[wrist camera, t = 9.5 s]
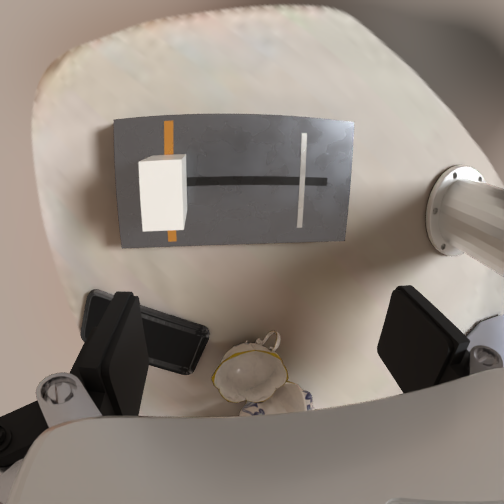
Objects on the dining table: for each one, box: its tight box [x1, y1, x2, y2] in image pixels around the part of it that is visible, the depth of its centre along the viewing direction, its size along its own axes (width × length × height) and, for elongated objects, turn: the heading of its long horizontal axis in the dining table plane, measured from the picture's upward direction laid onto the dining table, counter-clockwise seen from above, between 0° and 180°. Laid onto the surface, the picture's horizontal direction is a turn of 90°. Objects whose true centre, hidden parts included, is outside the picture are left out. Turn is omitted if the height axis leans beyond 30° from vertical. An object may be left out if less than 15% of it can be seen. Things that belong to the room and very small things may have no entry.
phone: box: [81, 289, 209, 375], centre depth 35 cm, size 8×1×15 cm
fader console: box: [114, 114, 354, 248], centre depth 29 cm, size 22×12×3 cm, turn 89°
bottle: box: [466, 315, 504, 367], centre depth 41 cm, size 20×20×19 cm
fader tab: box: [139, 154, 187, 232], centre depth 24 cm, size 3×5×6 cm, turn 179°
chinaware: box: [211, 331, 314, 416], centre depth 35 cm, size 28×17×17 cm, turn 171°
